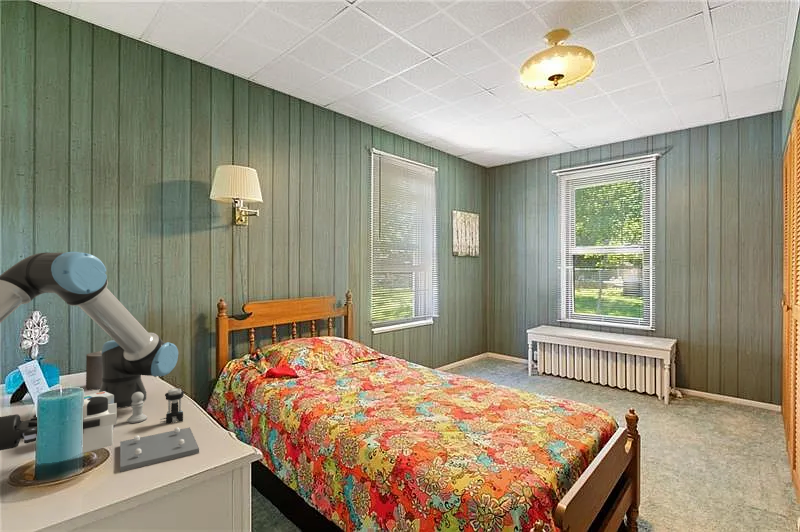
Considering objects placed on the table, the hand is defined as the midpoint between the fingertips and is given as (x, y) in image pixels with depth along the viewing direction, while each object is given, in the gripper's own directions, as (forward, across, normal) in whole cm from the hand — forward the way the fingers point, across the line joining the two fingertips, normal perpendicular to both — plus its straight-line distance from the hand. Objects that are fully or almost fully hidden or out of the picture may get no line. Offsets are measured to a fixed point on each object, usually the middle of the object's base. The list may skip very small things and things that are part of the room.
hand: (116, 413), depth 105 cm
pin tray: (+9, +4, -11) cm, 15 cm away
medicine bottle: (-5, 0, -8) cm, 9 cm away
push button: (+14, -16, -11) cm, 24 cm away
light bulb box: (-7, -20, -11) cm, 24 cm away
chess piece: (+5, -24, -11) cm, 27 cm away
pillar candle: (-6, -77, -11) cm, 78 cm away
